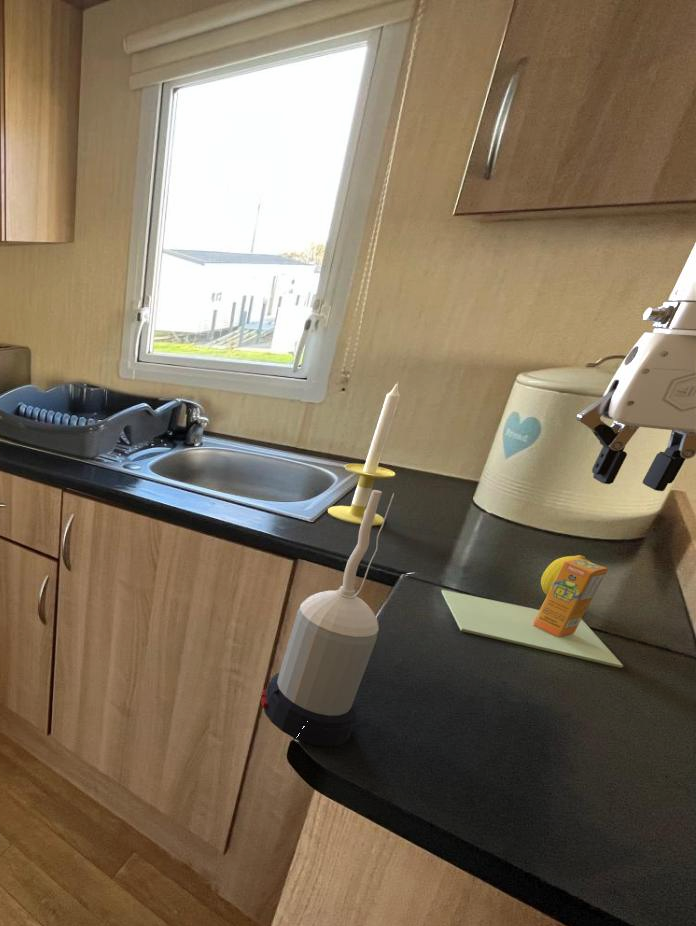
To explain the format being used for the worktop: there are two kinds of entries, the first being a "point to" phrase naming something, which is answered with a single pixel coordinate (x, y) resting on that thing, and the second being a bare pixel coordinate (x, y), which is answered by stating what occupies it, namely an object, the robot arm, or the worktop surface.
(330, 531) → the worktop surface
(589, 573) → the supplement box
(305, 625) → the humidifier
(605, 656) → the mat
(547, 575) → the lemon
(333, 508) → the candle
